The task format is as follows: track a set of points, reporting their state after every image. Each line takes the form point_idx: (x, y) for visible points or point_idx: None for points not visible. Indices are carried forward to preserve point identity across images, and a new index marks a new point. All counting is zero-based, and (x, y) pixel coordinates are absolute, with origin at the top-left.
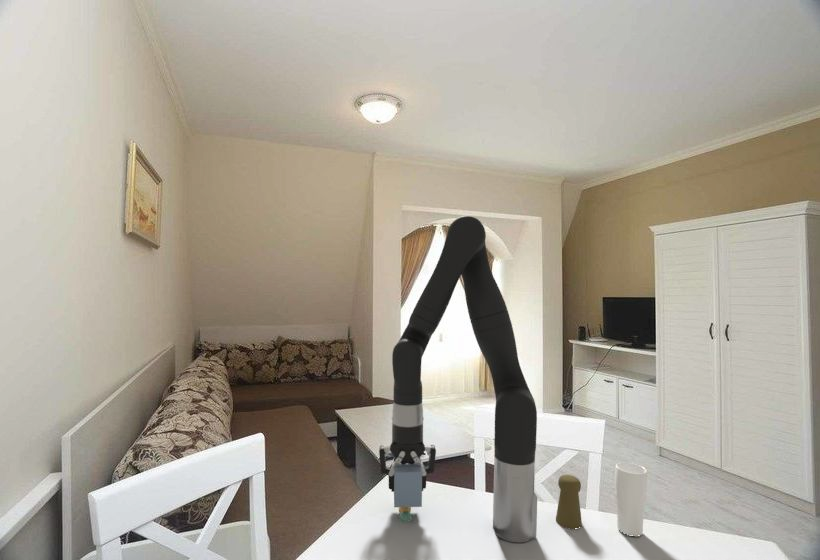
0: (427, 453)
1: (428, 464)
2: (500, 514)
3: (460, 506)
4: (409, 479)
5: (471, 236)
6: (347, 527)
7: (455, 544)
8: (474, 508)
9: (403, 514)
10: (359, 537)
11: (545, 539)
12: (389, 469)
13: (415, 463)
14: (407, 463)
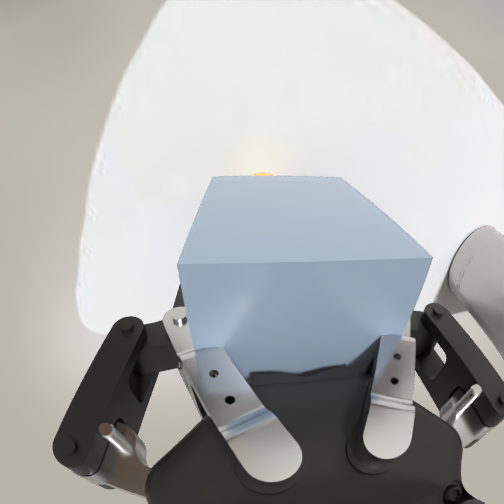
0: (443, 419)
1: (431, 335)
2: (473, 313)
3: (437, 146)
4: None
5: None
6: (100, 256)
7: None
8: (461, 164)
9: None
10: (141, 294)
11: None
12: (174, 365)
13: (360, 362)
14: (304, 367)
